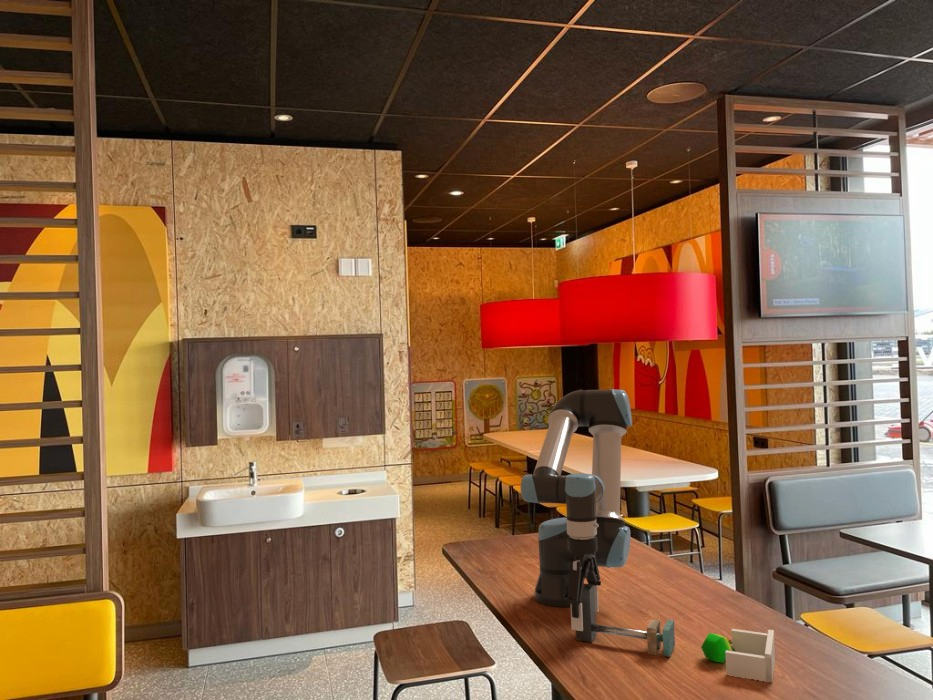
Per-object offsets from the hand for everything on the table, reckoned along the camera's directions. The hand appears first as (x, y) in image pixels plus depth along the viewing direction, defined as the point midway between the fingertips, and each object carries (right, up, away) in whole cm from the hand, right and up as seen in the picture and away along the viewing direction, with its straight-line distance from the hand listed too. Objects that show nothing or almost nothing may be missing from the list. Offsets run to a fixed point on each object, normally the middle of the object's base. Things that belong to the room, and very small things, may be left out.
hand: (585, 620), depth 168 cm
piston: (+9, -4, -4) cm, 11 cm away
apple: (+29, -4, -14) cm, 32 cm away
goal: (+34, -3, -18) cm, 39 cm away
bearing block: (+15, -4, -8) cm, 18 cm away
